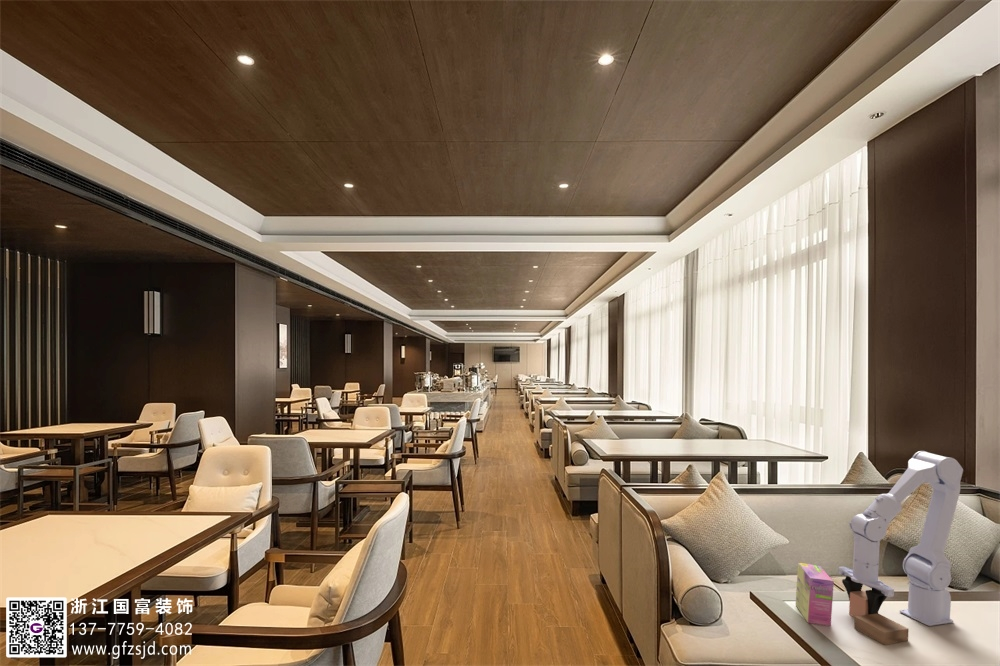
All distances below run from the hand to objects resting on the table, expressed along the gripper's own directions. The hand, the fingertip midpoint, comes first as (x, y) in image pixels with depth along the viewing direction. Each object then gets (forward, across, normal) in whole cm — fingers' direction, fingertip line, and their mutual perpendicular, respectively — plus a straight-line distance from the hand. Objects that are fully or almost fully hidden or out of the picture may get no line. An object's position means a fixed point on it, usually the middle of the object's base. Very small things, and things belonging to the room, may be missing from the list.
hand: (863, 612), depth 152 cm
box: (+2, -4, -13) cm, 14 cm away
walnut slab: (+1, +8, -4) cm, 9 cm away
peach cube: (+1, 0, 0) cm, 1 cm away
